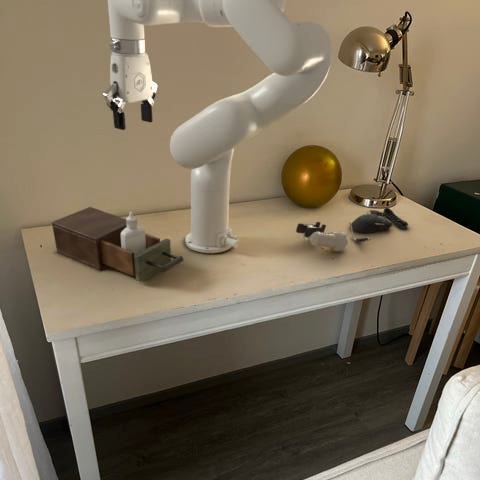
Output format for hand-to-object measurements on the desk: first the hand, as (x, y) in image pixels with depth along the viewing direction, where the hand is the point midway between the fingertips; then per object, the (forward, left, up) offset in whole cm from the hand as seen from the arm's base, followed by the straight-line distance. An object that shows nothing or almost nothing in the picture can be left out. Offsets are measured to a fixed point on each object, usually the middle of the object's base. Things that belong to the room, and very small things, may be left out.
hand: (133, 125), depth 125 cm
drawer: (-18, +20, -25) cm, 37 cm away
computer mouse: (-52, -42, -26) cm, 72 cm away
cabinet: (-3, +19, -26) cm, 33 cm away
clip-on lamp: (-48, -22, -26) cm, 59 cm away
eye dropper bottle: (-16, +19, -24) cm, 35 cm away
